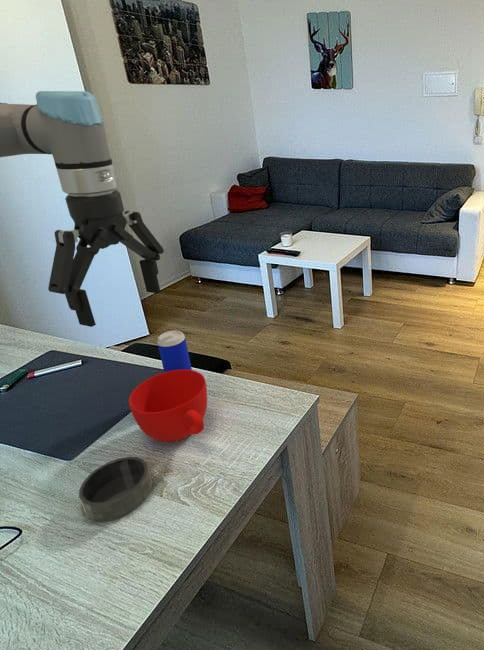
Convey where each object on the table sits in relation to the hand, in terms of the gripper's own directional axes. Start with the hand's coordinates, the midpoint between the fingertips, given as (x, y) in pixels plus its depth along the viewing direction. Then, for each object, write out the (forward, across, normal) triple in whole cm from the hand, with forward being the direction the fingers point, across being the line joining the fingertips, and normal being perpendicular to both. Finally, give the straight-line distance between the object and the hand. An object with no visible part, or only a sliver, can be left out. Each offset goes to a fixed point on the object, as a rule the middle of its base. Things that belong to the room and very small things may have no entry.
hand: (123, 307), depth 79 cm
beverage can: (+26, +8, 0) cm, 27 cm away
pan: (+26, -16, -10) cm, 32 cm away
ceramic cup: (+26, -2, -10) cm, 28 cm away
